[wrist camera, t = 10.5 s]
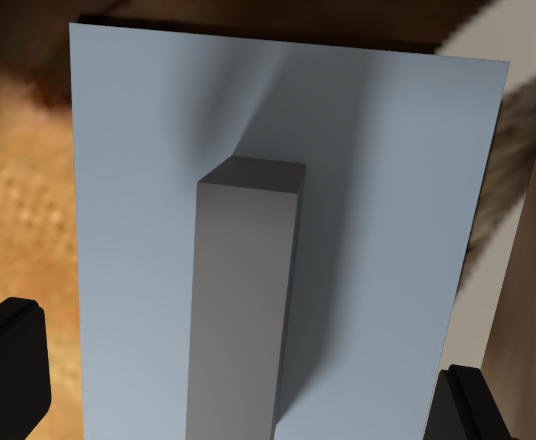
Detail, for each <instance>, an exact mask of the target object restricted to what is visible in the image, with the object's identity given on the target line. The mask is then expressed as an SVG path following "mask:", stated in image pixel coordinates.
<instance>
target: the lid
mask: <svg viewBox="0 0 536 440" xmlns="http://www.w3.org/2000/svg"><path fill="white" fill-rule="evenodd" d="M69 27H70V56H71V84H72V113H73V141H74V170H75V198H76V226H77V255H78V283H79V312H80V340H81V369H82V397H83V426H84V440H422V435H423V431H424V427H425V423H426V418H427V414H428V409H429V406H430V401H431V396H432V392H433V388H434V384H435V380H436V376H437V371H438V367H439V363H440V358H441V354H442V350H443V346H444V341H445V337H446V333H447V329H448V324H449V320H450V316H451V311H452V307H453V303H454V299H455V294H456V290H457V286H458V282H459V277H460V273H461V269H462V264H463V260H464V256H465V252H466V247H467V243H468V239H469V235H470V230H471V226H472V222H473V217H474V213H475V209H476V205H477V200H478V196H479V192H480V188H481V183H482V179H483V175H484V170H485V166H486V162H487V158H488V153H489V149H490V145H491V141H492V136H493V132H494V128H495V123H496V119H497V115H498V111H499V106H500V102H501V98H502V93H503V89H504V85H505V81H506V76H507V72H508V68H509V64H510V62H506V61H494V60H483V59H470V58H460V57H449V56H438V55H427V54H415V53H404V52H393V51H382V50H370V49H359V48H348V47H336V46H325V45H314V44H302V43H291V42H280V41H268V40H257V39H246V38H234V37H223V36H212V35H200V34H189V33H178V32H166V31H155V30H144V29H132V28H121V27H110V26H98V25H87V24H76V23H69Z"/></svg>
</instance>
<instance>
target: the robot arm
mask: <svg viewBox="0 0 536 440" xmlns="http://www.w3.org/2000/svg"><path fill="white" fill-rule="evenodd" d="M50 405H51V385H50V373H49V361H48V350H47V338H46V326H45V314H44V310H43V309H42V308H41V307H39V305H38V303H37V302H36V301H35V300H30V299H24V298H17V297H10V298H8V299H6V300H4V301H3V302H2V303H0V440H25V439H26V437H27V436H28V435H29V434H30V433H31V432H32V430H33V429H34V428H35V427H36V426H37V424H38V423H39V422H40V421H41V420H42V418H43V417H44V416H45V415H46V413H47V412H48V410H49V408H50ZM423 440H519V439H518V438H512V437H511V435H510V433H509V431H508V429H507V426H506V424H505V422H504V420H503V418H502V416H501V413H500V411H499V409H498V407H497V405H496V403H495V400H494V398H493V396H492V394H491V392H490V390H489V387H488V385H487V383H486V381H485V379H484V377H483V374H482V372H481V371H480V369H478V368H473V367H466V366H460V365H454V364H452V365H450V367H449V369H448V370H441V371H440V373H439V376H438V380H437V384H436V388H435V392H434V396H433V401H432V405H431V409H430V413H429V417H428V421H427V426H426V430H425V434H424V438H423Z"/></svg>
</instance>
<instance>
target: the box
mask: <svg viewBox="0 0 536 440" xmlns="http://www.w3.org/2000/svg"><path fill="white" fill-rule="evenodd" d="M480 371H481V372H482V374H483V377H484V379H485V381H486V383H487V385H488V387H489V390H490V392H491V394H492V396H493V398H494V400H495V403H496V405H497V407H498V409H499V411H500V413H501V416H502V418H503V420H504V422H505V424H506V426H507V429H508V431H509V433H510V435H511V437H512V438H518V439H519V440H536V158H535V162H534V166H533V170H532V174H531V178H530V181H529V185H528V189H527V193H526V197H525V201H524V204H523V208H522V212H521V216H520V220H519V224H518V228H517V231H516V235H515V239H514V243H513V247H512V251H511V254H510V259H509V262H508V266H507V270H506V274H505V278H504V281H503V285H502V289H501V293H500V297H499V301H498V304H497V308H496V312H495V316H494V320H493V324H492V327H491V331H490V335H489V339H488V343H487V347H486V351H485V355H484V358H483V362H482V366H481V370H480Z"/></svg>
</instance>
